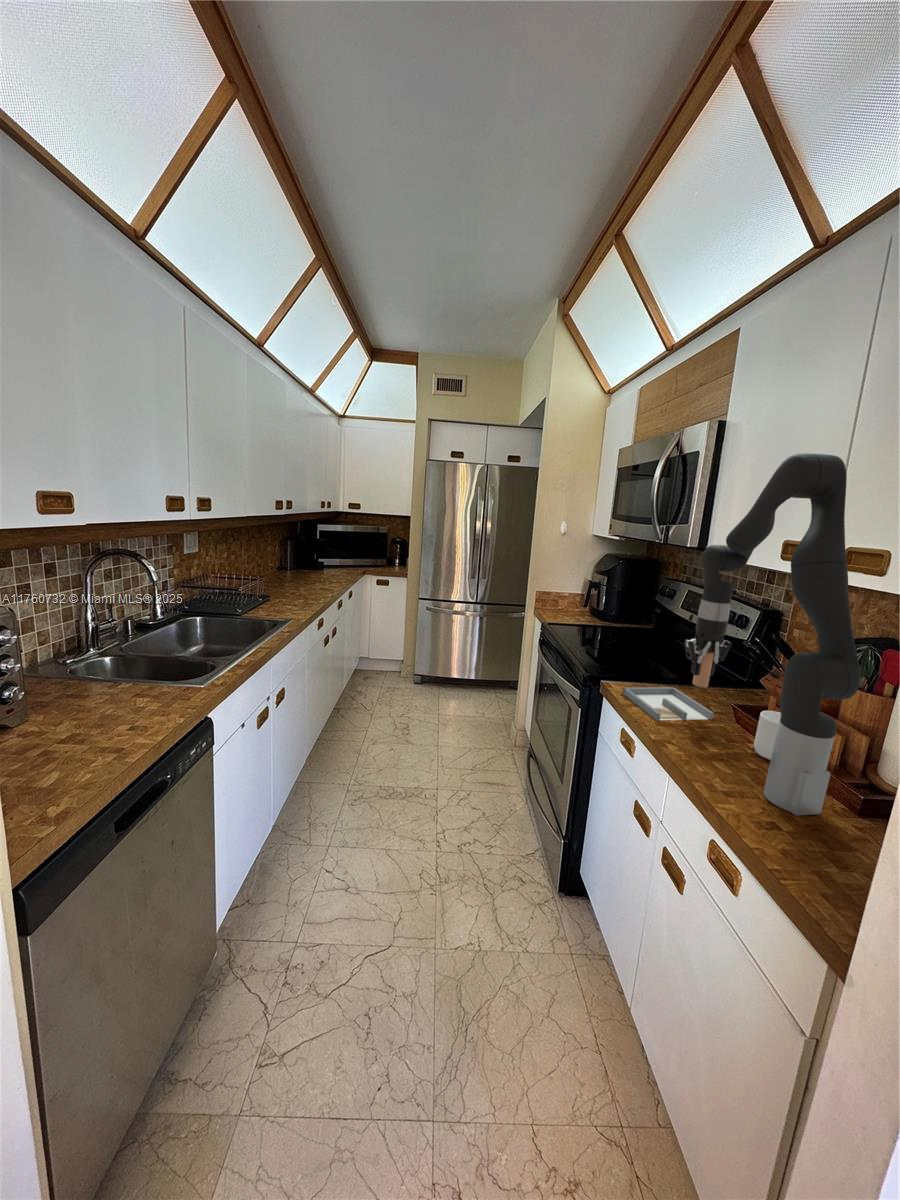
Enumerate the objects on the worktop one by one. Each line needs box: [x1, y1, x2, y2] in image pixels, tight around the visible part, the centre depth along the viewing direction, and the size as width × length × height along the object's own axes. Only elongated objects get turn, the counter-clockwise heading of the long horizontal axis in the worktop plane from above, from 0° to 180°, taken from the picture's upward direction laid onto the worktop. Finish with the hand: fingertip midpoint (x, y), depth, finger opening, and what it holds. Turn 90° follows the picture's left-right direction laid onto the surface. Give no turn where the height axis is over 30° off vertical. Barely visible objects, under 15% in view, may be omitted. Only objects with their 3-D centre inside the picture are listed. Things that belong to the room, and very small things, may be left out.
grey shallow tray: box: [621, 686, 714, 721], centre depth 144 cm, size 19×18×3 cm
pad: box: [654, 708, 679, 718], centre depth 138 cm, size 6×6×1 cm
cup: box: [753, 710, 781, 761], centre depth 121 cm, size 8×12×10 cm
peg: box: [692, 650, 714, 688], centre depth 134 cm, size 4×4×10 cm
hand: (702, 674), depth 134 cm, fingers closed on peg, 4 cm apart
